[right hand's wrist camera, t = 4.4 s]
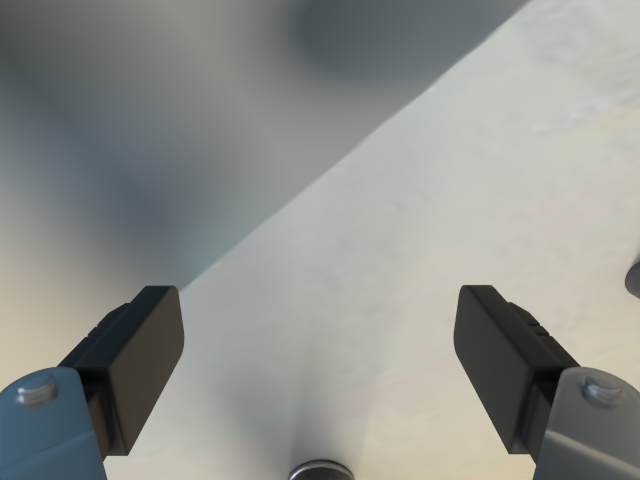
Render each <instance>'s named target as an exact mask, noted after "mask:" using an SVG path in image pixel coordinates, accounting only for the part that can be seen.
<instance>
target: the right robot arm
mask: <svg viewBox="0 0 640 480" xmlns="http://www.w3.org/2000/svg"><path fill="white" fill-rule="evenodd" d="M183 347H184V329H183V322H182V315H181V308H180V301H179V294H178V290H177V288H176V287H175V286H145V287H144V288H143V289H142V291H141V292H140V293H139V294H138V295H137V296H136V297H135V298H134V299H133V300H132V301H131V303H125V304H123V305H122V306H120V307H118V308H117V309H115V310H113V311H111V312H109V313H108V314H107V315H106V316H105V317H104V318H103V319H102V320H101V321H100V322H99V323H98V325H97V327H95V328H94V329H93V330H92V331H91V332H90V333H89V334H88V337H85V338H84V339H83V340H82V341H81V342H80V343H79V344H78V345H77V346H76V347H75V348H74V349H73V350H72V351H71V352H70V353H69V354H68V355H67V356H66V357H65V358H64V359H63V361H61V363H60V364H59V365H58V366H57V367H52V368H46V369H42V370H39V371H36V372H33V373H30V374H28V375H26V376H23V377H21V378H20V379H18V380H16V381H14V382H13V383H11V384H10V385H9V386H7V387H6V388H5V389H4V390H3V391H2V392H1V393H0V480H107V476H106V473H105V469H104V465H103V461H104V460H105V458H106V456H128V455H129V453H130V451H131V449H132V447H133V445H134V443H135V441H136V440H137V438H138V436H139V434H140V432H141V430H142V428H143V426H144V425H145V423H146V421H147V419H148V417H149V415H150V413H151V411H152V410H153V408H154V406H155V404H156V402H157V400H158V398H159V396H160V395H161V393H162V391H163V389H164V387H165V385H166V383H167V381H168V380H169V378H170V376H171V374H172V372H173V370H174V368H175V366H176V365H177V363H178V361H179V359H180V357H181V355H182V352H183ZM454 347H455V351H456V354H457V356H458V358H459V360H460V362H461V364H462V366H463V368H464V370H465V372H466V374H467V375H468V377H469V379H470V381H471V383H472V385H473V387H474V389H475V391H476V393H477V394H478V396H479V398H480V400H481V402H482V404H483V406H484V408H485V410H486V412H487V413H488V415H489V417H490V419H491V421H492V423H493V425H494V427H495V429H496V431H497V432H498V434H499V436H500V438H501V440H502V442H503V444H504V446H505V448H506V449H507V451H508V453H509V454H530V455H531V457H532V459H533V461H534V462H535V464H536V469H535V473H534V476H533V480H640V393H639V392H638V391H637V390H636V389H635V388H634V387H633V386H632V385H630V384H629V383H627V382H626V381H624V380H622V379H620V378H619V377H617V376H614V375H612V374H610V373H607V372H604V371H601V370H598V369H594V368H588V367H581V366H580V365H579V364H578V363H577V362H576V361H575V360H574V359H573V358H572V357H571V356H570V355H569V354H568V352H567V351H566V350H565V349H564V348H563V347H562V346H561V345H560V344H559V343H558V342H557V341H556V340H555V339H554V338H553V337H552V336H549V333H548V332H547V331H546V330H545V329H544V328H543V327H542V326H540V323H539V322H538V321H537V320H536V319H535V318H534V317H533V316H532V315H531V314H530V313H529V312H527V311H526V310H524V309H522V308H521V307H519V306H517V305H515V304H514V303H512V302H507V301H506V300H505V299H504V298H503V297H502V296H501V295H500V294H499V293H498V291H497V290H496V289H495V288H494V287H493V286H491V285H463V286H462V287H461V289H460V293H459V299H458V306H457V313H456V320H455V328H454ZM288 480H354V478H353V476H352V475H351V473H350V472H349V471H348V470H347V469H346V468H344V467H343V466H341V465H339V464H337V463H334V462H329V461H313V462H308V463H305V464H303V465H301V466H299V467H298V468H296V469H295V470H294V471H293V472H292V473H291V474H290V476H289V478H288Z"/></svg>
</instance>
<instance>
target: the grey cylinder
mask: <svg viewBox="0 0 640 480" xmlns="http://www.w3.org/2000/svg"><path fill="white" fill-rule="evenodd" d="M625 285H626V288H627V290H628V291H629V292H630V293H631V294H632V295H634V296H636V297H637V298H639V299H640V262H639V263H637V264H636V265H635V266H634V267H633V268H632V269H631V270H630V271H629V272H628V274H627V277H626V280H625Z"/></svg>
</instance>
